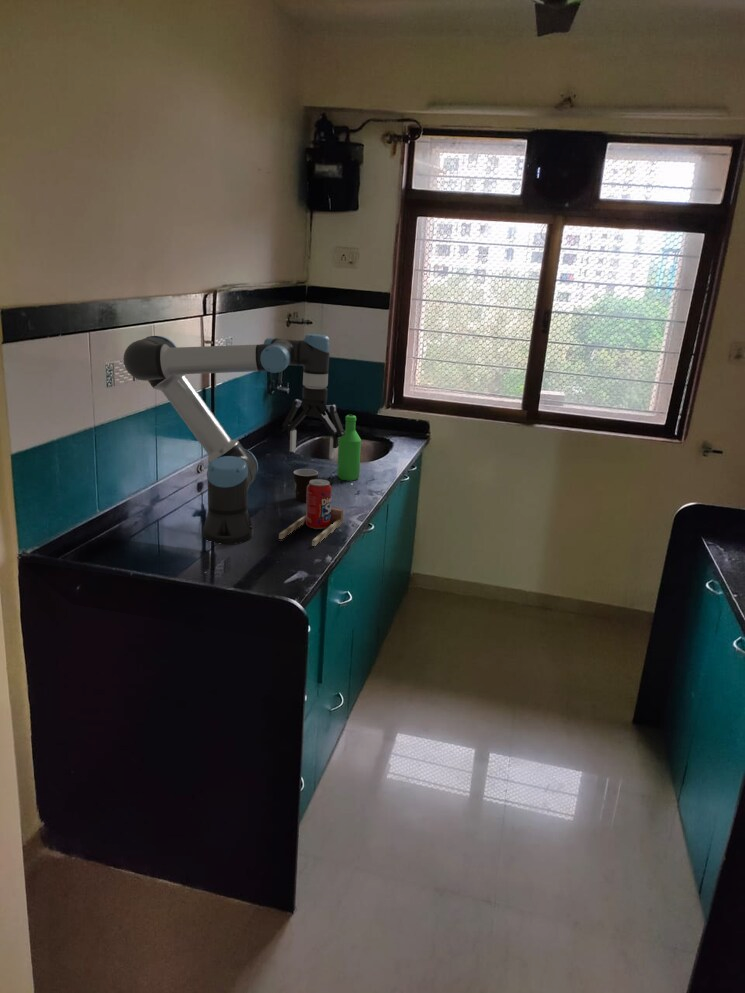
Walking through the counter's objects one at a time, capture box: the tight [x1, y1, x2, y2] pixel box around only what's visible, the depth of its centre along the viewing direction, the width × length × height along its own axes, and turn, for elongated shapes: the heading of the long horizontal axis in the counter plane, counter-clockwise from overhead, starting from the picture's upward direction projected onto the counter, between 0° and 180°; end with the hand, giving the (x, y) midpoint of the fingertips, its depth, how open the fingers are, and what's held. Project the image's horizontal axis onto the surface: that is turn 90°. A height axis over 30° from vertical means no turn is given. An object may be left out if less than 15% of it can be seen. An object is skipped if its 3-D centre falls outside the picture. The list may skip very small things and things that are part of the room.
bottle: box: [336, 414, 362, 482], centre depth 274 cm, size 9×9×25 cm
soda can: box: [305, 478, 333, 530], centre depth 224 cm, size 8×8×15 cm
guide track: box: [278, 506, 344, 547], centre depth 221 cm, size 22×12×5 cm, turn 160°
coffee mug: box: [293, 468, 319, 503], centre depth 251 cm, size 12×9×10 cm
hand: (312, 454), depth 220 cm, fingers open, 13 cm apart
